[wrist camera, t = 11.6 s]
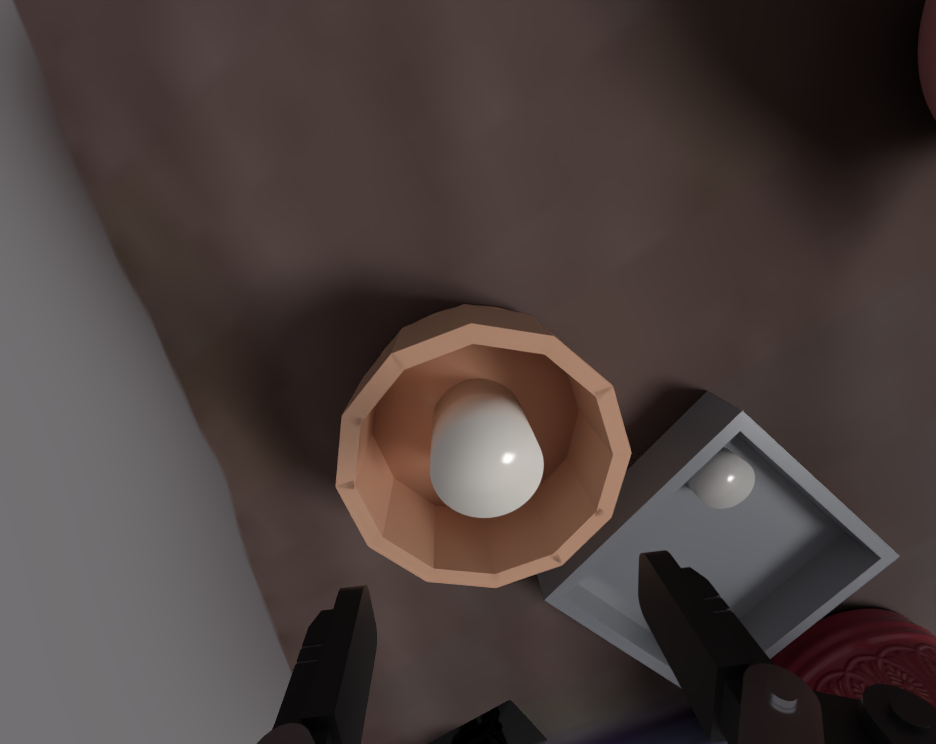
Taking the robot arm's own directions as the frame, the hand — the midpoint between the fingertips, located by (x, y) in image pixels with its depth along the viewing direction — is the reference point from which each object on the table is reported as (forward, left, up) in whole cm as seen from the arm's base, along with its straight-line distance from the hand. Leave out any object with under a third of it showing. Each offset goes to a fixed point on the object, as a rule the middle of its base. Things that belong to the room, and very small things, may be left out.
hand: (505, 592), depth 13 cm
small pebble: (-13, -6, -12) cm, 18 cm away
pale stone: (0, 0, -12) cm, 12 cm away
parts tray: (-17, -2, -12) cm, 21 cm away
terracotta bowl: (0, 0, -12) cm, 12 cm away
